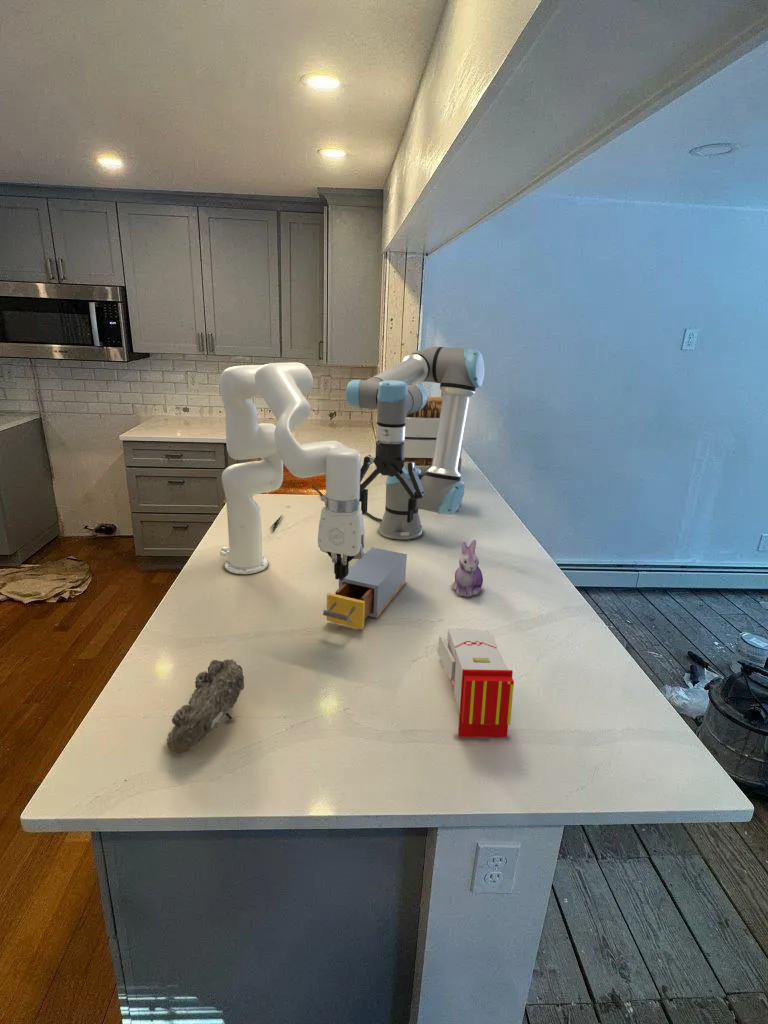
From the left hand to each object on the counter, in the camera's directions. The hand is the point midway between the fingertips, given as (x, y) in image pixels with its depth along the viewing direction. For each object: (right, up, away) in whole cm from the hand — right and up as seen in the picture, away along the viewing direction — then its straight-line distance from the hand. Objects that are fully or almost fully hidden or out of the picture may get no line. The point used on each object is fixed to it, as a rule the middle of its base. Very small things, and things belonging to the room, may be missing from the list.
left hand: (341, 577), depth 133 cm
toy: (+28, -22, -14) cm, 39 cm away
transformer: (+27, +34, +142) cm, 149 cm away
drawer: (+3, -10, +13) cm, 17 cm away
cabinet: (+7, -8, +24) cm, 26 cm away
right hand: (+11, +14, +23) cm, 29 cm away
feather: (-28, +13, +76) cm, 82 cm away
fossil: (-23, -24, -25) cm, 41 cm away
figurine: (+34, -7, +29) cm, 45 cm away
